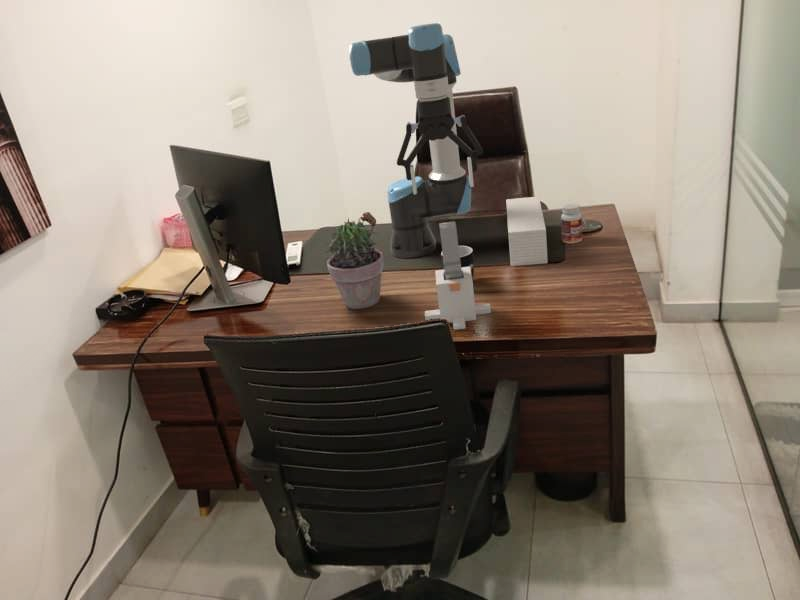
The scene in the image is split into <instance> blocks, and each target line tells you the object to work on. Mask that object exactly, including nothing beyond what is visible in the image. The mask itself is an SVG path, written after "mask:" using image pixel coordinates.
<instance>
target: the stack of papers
mask: <svg viewBox="0 0 800 600" xmlns="http://www.w3.org/2000/svg"><path fill="white" fill-rule="evenodd" d="M505 202H506V203H505V204H506V217H507V219H506V220H507V231H508V234H507V235H508V247H509V249H508V250H509V260H510V267H517V266H518V267H519V266H529V265H544V264H548V246H547V245H548V243H547V242H548V241H547V229H546V224H545V219H544V214H543V210H542V205H541V200H540V196H531V197H530V196H529V197H519V198H517V197H515V198H508V199H506V201H505Z"/></svg>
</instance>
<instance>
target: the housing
mask: <svg viewBox="0 0 800 600" xmlns="http://www.w3.org/2000/svg"><path fill="white" fill-rule="evenodd" d="M461 270H462V274H461V275H462V278H460V279H452V280H446V276H445V273H444V269H438V270H437V269H436V270H435V271H434V273H435V285H436V294H437V302H438V309H431V310H430V309H429V310H424V317H425V318H424V320H425V321H429V320H431V319H432V320H441V319H446V320H448V322H449V323H448V324H451V323H452V325H453V326H452V327H453V330H456V331H457V330H464V329H467V328H466V322H469V321H477V315H483V314H489V313H490V314H492V307H491V304H490V303H483V304H476V301H475V293H474V283H473V281H474V279H473V280H472V275H471V269H470V266H469V267H461Z"/></svg>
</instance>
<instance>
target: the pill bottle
mask: <svg viewBox="0 0 800 600" xmlns="http://www.w3.org/2000/svg"><path fill="white" fill-rule="evenodd" d="M561 208H562V211H561V212H562V214H560V224H561V225H560V227H561V228H560V229H561V241H562V242H563V243H565V244H569V245H570V244H578V243H579V242H581V241H582V240H583V224H582V223H583V222H582V220H583V219H582V218H583V216H582V213H581V212H580V211H581V210H580V209H581V208H580V204H578V203H576V202H575V203H572V202H570V203H566V204H563V205H562V206H561Z"/></svg>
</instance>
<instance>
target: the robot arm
mask: <svg viewBox="0 0 800 600" xmlns="http://www.w3.org/2000/svg"><path fill="white" fill-rule="evenodd" d="M407 33H408V34H404V35H403V34H402V35H398V36H392V37H391V36H390V37H384V38H376V39H370V40H361V41H357V42H352V43H350V45H349V49H348V50H349V51H348V53H349V62H350V66H351V69H352V73H353V74H354V76H357V77H360V76H365V77H366V76H369V75H370V76H371V75H374V76H375V77H377V78H378V79H379V80H381V81H386V82H391V83H392V82H393V83H411V82H413V83H414V91H415V92H414V93H415V98H416V99H417V102H416V106H417V107H416V108H417V115H418V122H416V123H414V122H413V123H412V122H406V124H405V125H406V126H405V135H404V139H403V142H402V145H401V148H400V150H399V154H398V156H397V159H396V165H397V166H398V167H399V166H400V167H404V169H405V177H404V178H402V179H398V180H397V181H395V182H393V183H391V184H390V185H389V186H388V188H387V203H388V207H389V213H390V214H389V215H390V218H391V219H390V220H391V226H392V231H391V238H390V246H389V249H390V254H391V256H394V257H396V258H401V259H410V258H411V259H412V258H417V257H418V258H419V257H422V256H425V255H429V254H430V253H432V252H433V251H435V250H436V249H437V242H436V241H437V240H436V238H435V236H434V234H433V231H432V230H431V229H430V228H431V227H430V226H429V222H428V218H429V219H430V218H437V217H438V218H439V217H449V216H457V215H461V214H466V213H468V212H469V211H470V210H471V202H472V188H473V187H475V185H474V174H473V172H474V173H475V172H477V170H478V166H477V158H478V157H479V156H482V155H483V154H484V150H483V148H482V146H481V145H480V143H479V141H478V140H477V138H476V137H475V135H474V133H473V132H472V131H471V128H470V127H469V126H468V124H467V119H466V116H465V114H461V115H460V116H457V117H456V114H455V113H456V112H455V103H454V94H453V88H454V87H455V85H456V84H457V82H458V81H457V77H459V76H460V75H461V74H462V73H461V68H460V63H459V60H458V55H457V51H456V46H455V43H454V38H453V36H452V35H450V34H444V32H443V27H442V25H441V24H440V23H438V22H437V23H435V22H434V23H427V24H420V25H414V26H411V27H410V28H409V29H408V31H407ZM456 124H457V125H456ZM457 126H458V127H460V128H462V130H463V132H464V133H465V135H466V137H467V138H468V139H469V141H470V143H471V144H472V146H473V147H474V149H475V150H473V149H472V148H471V147H470V146H469V145H467V143H465V142H464V141H463V140H462V139H461V138H460V137H459V136H458V134H457ZM417 129H418V130H419V131H420V133H421V136H420V137H419V139H418V141H417V143H416V144H415V145H414V147H413V149H412V150H411V151H410V153H409V155H408V156H407V157H406V159H404V158H405V155H406V152H407V149H408V147H409V144H410V140H411V137H412V134H415V132H416V130H417ZM427 140H428V142H429V149H430V159H431V165H432V170H431V172H430V173H429V174H428V180H424V179H423V178H422V177H421V176H418V175H417V176H416V175H415V167H414V164H412V163H413V162H414V160H415V159H416V158H417V155H418V154H419V152H420V151H421V149H422V148H423V146H424V145H425V143H426V142H427ZM459 148H460V149H461V150H462V151H463V152H464V153H465V154H466V155H468V156H467V158H466V159H467V169H468V175H467V171H466V170H465V169H464V168H463V167H462V166H461V163H460V152H459Z"/></svg>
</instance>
